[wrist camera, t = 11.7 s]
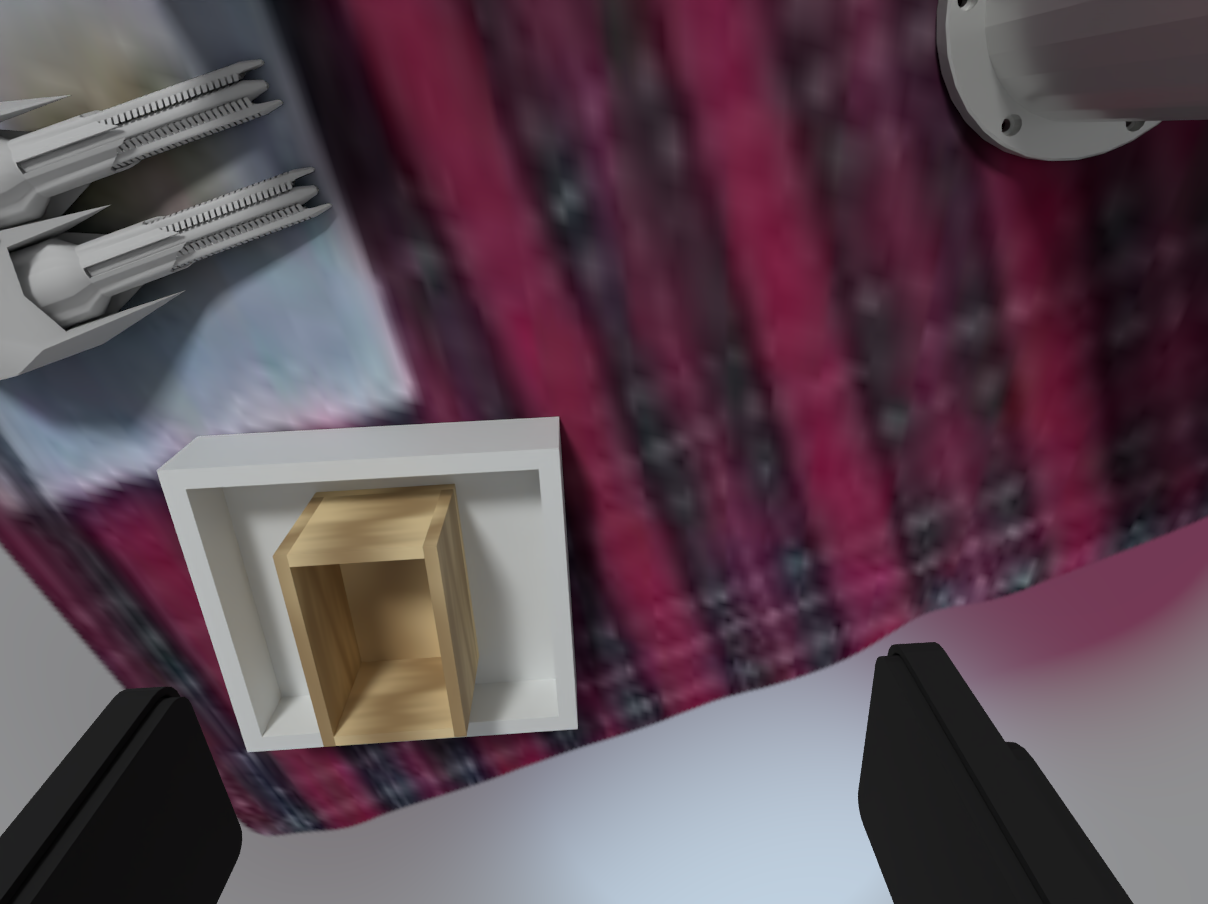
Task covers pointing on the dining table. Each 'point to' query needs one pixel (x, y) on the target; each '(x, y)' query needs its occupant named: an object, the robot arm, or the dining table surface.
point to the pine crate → (382, 613)
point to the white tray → (369, 461)
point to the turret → (133, 254)
